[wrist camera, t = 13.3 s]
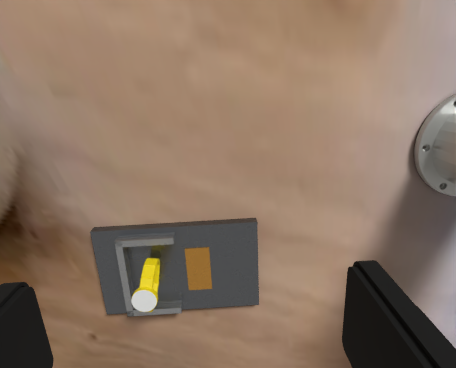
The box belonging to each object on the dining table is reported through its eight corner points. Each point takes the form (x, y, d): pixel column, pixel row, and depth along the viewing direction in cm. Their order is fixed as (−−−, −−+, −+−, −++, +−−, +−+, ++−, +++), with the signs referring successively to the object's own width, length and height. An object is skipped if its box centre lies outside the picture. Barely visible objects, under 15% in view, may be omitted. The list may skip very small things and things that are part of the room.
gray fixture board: (255, 217, 40) (258, 227, 37) (257, 298, 43) (260, 312, 41) (93, 227, 39) (85, 237, 37) (109, 308, 43) (103, 322, 40)
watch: (164, 292, 41) (155, 326, 35) (142, 290, 41) (130, 324, 35) (166, 250, 39) (158, 279, 34) (143, 249, 39) (131, 277, 33)
